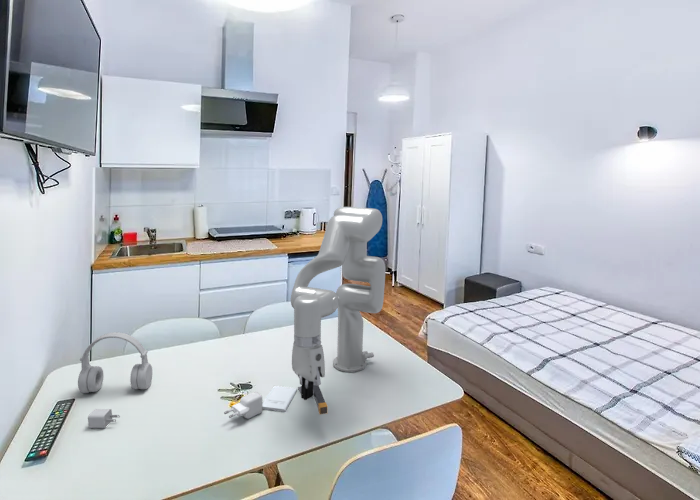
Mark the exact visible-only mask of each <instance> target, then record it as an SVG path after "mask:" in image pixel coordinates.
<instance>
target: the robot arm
mask: <svg viewBox="0 0 700 500" xmlns="http://www.w3.org/2000/svg"><path fill="white" fill-rule="evenodd" d="M326 225H327V226H326V229H325V232H324V234H323V239H322V241H321V244H320V248H319V251H318V254H317V255H316V256H315V257H313V258H312V259H311V260H310V261H308V262H307V263H306V264H305V265H304V266H303V267H302V268H301V269H300V271H299V272H298V273H297V276H296V278H295V281H294V283H293V287H292V290H291V294H290V304H291V307H292V308H293V333H294V334H293V345H292V350H291V351H292V353H291V369H292V371H293V372H294V374H296V376H297V377H298V379H299V385H300V387H301V393H300V398H301V399H302V400H304V401H307V400H309V399H312V398H314V397H313V385H315V386H318V385H319V386H320V385H321V384H322V381H321V378H325V374H326V367H325V366H326V364H325V363H326V361H325V354H324V348H323V347H324V346H323V345H322V341H321V340H322V337H321V336H322V335H321V334H322V331H321V330H322V327H321V326H322V318H326V317H329V316H330V315H333V314H334V313H335V312H336V310H337V343H336V344H337V347H336V348H337V349H336V350H337V351H336V353H337V354H336V355H337V356H336V357H335V358H333V360H332V366H333V368H335V369H336V370H338V371H340V372H345V373H357V372H360V371H362V370H364V369H365V368H366V366H367V361H366V360H367V359H372V358H374V356H375V354H374V352H368V350H365V351H363V347H364V346H363V344H364V319H363V316H362V314H361V312H363V313H367V314H368V313H370V314H377V313H380V312H381V311H382V309H383V305H384V299H385V298H384V297H385V286H386V285H385V283H386V264H385V261H384V259H383V258H381V257H378V256H371V255H367V243H368V242H369V241H371V240H372V239H373V238H374V237H375V236H376V234H378V233H379V232H380V230H381V228H382V225H383V215H382V213H381V211H380V210H379V209H377V208H371V207H370V208H369V207H356V206H340V207H337V208H335V210H334V211H333V216H331V217H330V218H329V220H328V222H327V224H326ZM339 267H341V273H342V277H343V278H344V279H346V280H349V281H353V282H361V283H369V285H364V284H356V283H343V284H341V285H339V286H338V287H337V289H336V292H335V291H334V290H330V289H324V288H317V287H311V286H310V287H309V284H310V283H311V281H312V280H314V278H315V277H317V276H318V275H320V274H322V273H325V272H327V271H330V270H334V269H337V268H339ZM309 381H310V382H309Z"/></svg>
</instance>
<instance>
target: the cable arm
mask: <svg viewBox="0 0 700 500" xmlns="http://www.w3.org/2000/svg"><path fill="white" fill-rule="evenodd" d="M309 382H310V381H309ZM312 398H313V399H314V402H315V405H316V407H317V411H318V415H325V414H329V413H328V406H329V405H328V404H327V402H326V400H325V398H324V396H323V392H322V390H321V388H320V385H318V386H315V385H313V397H312Z"/></svg>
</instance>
